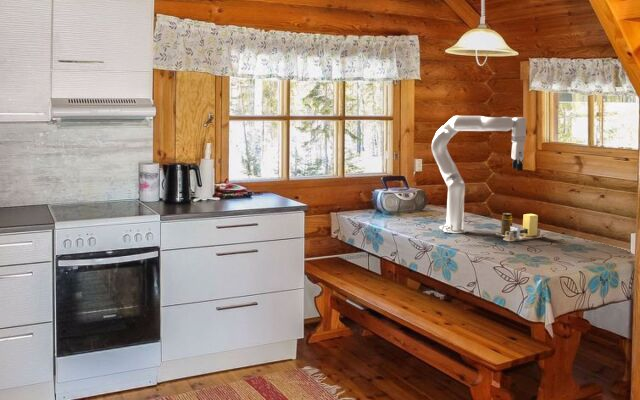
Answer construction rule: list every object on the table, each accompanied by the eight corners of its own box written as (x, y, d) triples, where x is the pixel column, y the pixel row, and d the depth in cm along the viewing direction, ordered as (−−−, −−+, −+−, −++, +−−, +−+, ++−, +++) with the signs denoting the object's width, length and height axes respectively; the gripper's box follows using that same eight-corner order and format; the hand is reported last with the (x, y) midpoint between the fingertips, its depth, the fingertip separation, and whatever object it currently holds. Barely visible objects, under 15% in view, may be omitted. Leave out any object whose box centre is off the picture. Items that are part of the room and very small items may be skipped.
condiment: (514, 234, 396) (516, 214, 394) (504, 236, 391) (505, 215, 390) (505, 232, 402) (506, 212, 400) (494, 234, 397) (495, 213, 396)
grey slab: (516, 239, 380) (517, 228, 379) (509, 237, 385) (510, 226, 384) (519, 238, 381) (520, 227, 380) (512, 237, 386) (513, 226, 385)
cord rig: (509, 241, 378) (509, 232, 377) (503, 239, 382) (503, 230, 382) (541, 237, 389) (542, 228, 388) (535, 235, 394) (535, 227, 393)
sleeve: (528, 236, 384) (530, 215, 383) (522, 234, 389) (523, 214, 387) (536, 235, 387) (538, 215, 385) (530, 233, 391) (531, 213, 390)
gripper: (508, 138, 400) (507, 167, 402) (515, 140, 383) (514, 171, 385) (521, 138, 399) (520, 167, 402) (529, 140, 382) (528, 171, 385)
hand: (517, 169), depth 394 cm, fingers open, 9 cm apart
